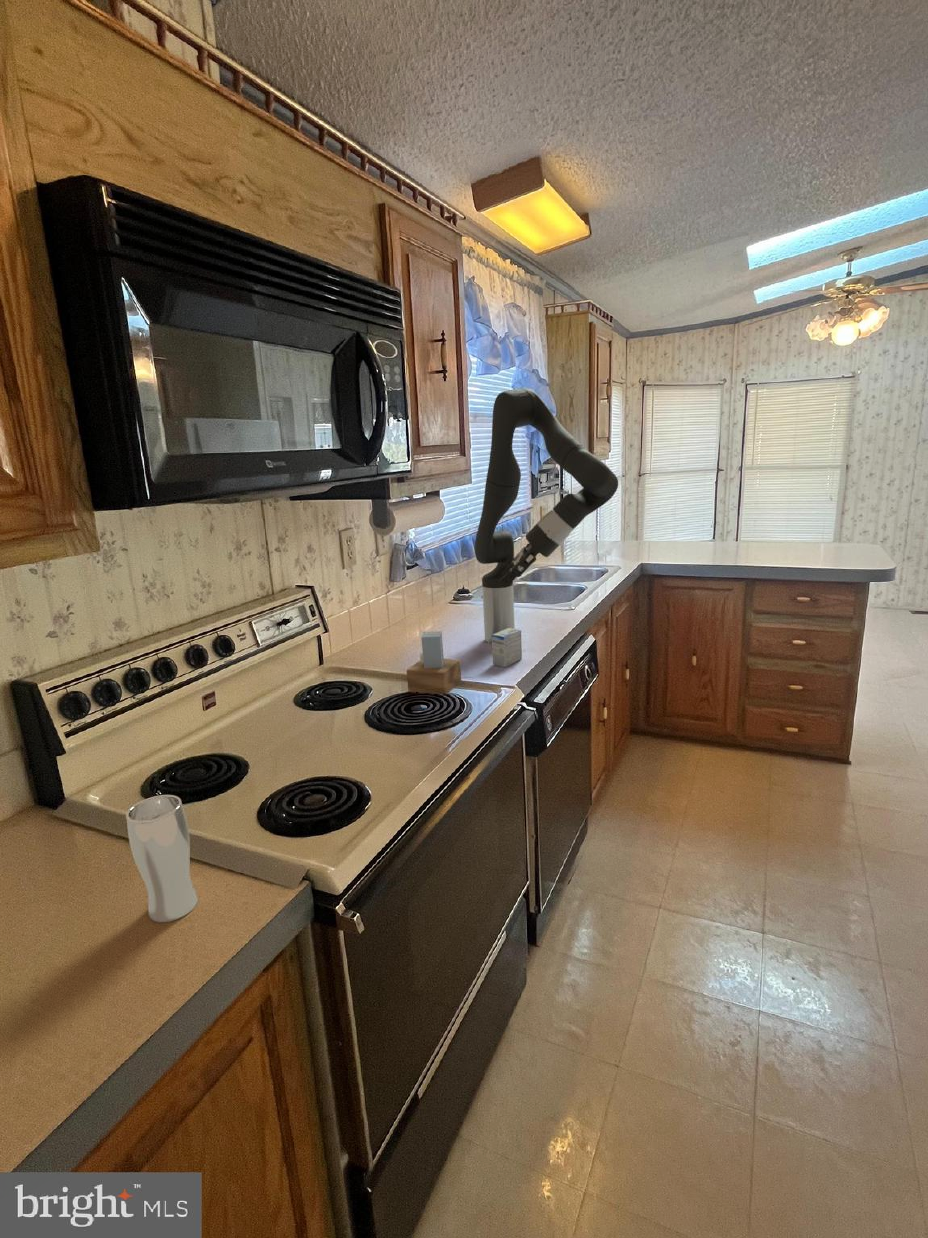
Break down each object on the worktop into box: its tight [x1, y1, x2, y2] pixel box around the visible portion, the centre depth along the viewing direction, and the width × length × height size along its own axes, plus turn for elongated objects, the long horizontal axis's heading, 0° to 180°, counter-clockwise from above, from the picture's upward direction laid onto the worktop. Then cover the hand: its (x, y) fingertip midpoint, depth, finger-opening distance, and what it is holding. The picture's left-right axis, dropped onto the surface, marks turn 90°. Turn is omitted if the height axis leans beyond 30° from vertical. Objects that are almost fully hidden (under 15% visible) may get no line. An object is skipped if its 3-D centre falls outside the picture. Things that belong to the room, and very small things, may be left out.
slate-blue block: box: [421, 630, 445, 669], centre depth 160 cm, size 4×4×8 cm
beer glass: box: [125, 794, 198, 923], centre depth 85 cm, size 7×7×15 cm
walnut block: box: [406, 658, 462, 695], centre depth 162 cm, size 10×10×6 cm
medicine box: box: [491, 628, 523, 668], centre depth 177 cm, size 8×4×9 cm, turn 141°
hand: (503, 581), depth 159 cm, fingers open, 8 cm apart
